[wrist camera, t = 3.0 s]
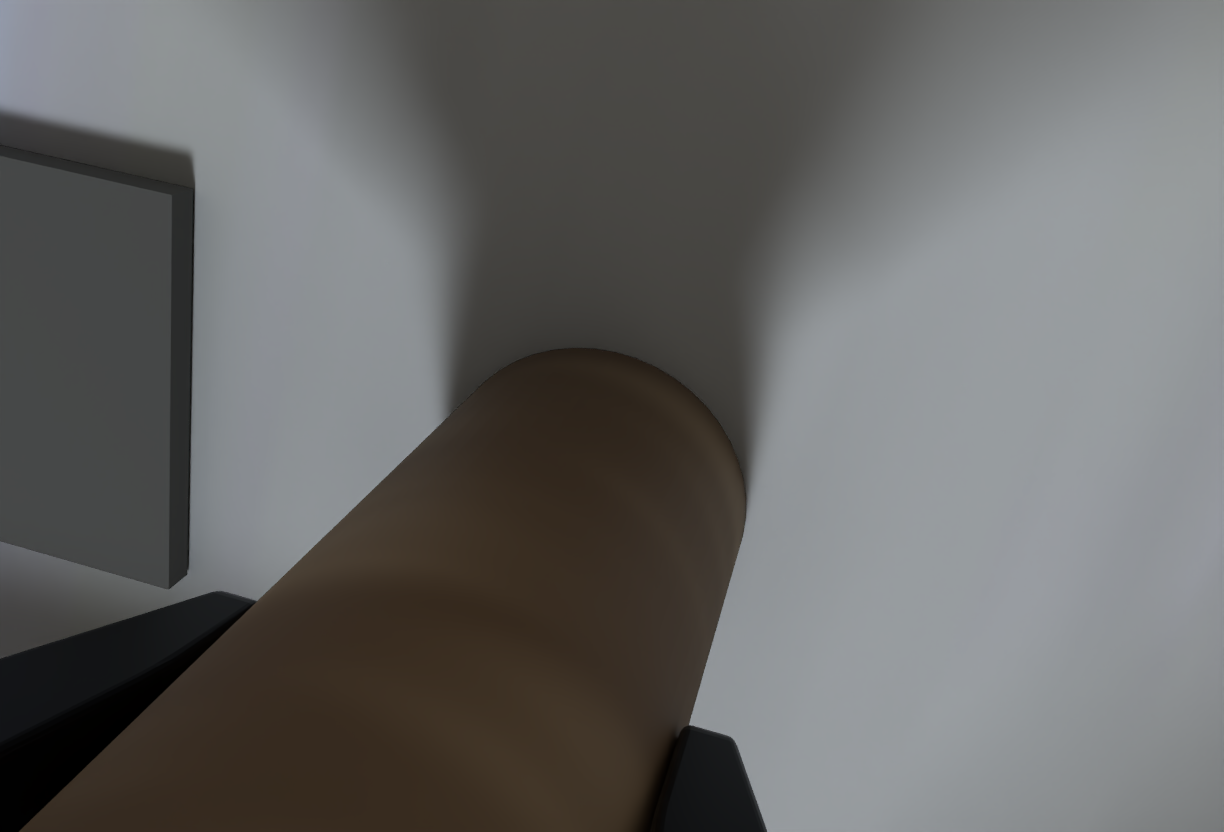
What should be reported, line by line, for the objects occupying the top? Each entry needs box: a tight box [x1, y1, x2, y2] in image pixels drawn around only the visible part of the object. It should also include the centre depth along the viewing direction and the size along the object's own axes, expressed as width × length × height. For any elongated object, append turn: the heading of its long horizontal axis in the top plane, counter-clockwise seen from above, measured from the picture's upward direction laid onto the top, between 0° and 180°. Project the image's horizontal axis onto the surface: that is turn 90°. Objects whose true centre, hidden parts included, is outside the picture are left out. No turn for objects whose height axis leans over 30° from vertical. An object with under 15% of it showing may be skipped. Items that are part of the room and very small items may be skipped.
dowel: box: [19, 348, 746, 832], centre depth 8 cm, size 4×4×10 cm
